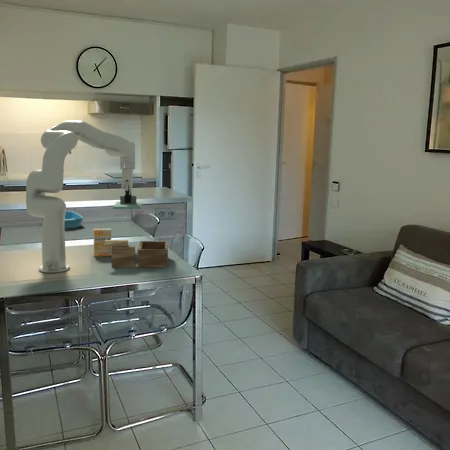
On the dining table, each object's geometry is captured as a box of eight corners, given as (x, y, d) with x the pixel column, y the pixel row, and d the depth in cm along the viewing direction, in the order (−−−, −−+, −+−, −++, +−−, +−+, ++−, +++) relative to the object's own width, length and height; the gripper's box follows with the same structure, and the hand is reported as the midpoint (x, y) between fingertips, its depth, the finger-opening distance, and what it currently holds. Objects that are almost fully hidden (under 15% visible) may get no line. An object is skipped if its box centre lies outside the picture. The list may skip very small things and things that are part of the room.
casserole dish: (87, 229, 304) (86, 217, 303) (49, 231, 293) (49, 220, 292) (72, 220, 335) (72, 209, 334) (38, 222, 324) (38, 211, 323)
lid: (139, 209, 241) (139, 198, 240) (113, 208, 239) (112, 198, 238) (142, 204, 258) (142, 194, 257) (117, 204, 257) (116, 194, 256)
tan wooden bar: (127, 246, 215) (127, 240, 214) (104, 246, 214) (104, 240, 213) (128, 245, 217) (128, 239, 217) (105, 245, 216) (105, 239, 216)
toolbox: (167, 267, 218) (167, 247, 216) (111, 267, 215) (111, 247, 213) (167, 257, 235) (167, 238, 234) (116, 257, 233) (115, 238, 231)
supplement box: (94, 257, 233) (93, 230, 231) (93, 254, 238) (93, 228, 236) (111, 256, 236) (111, 229, 233) (111, 253, 240) (110, 227, 238)
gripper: (121, 165, 255) (122, 200, 258) (118, 167, 239) (118, 204, 242) (136, 165, 256) (136, 200, 259) (133, 167, 240) (134, 204, 243)
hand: (128, 201), depth 250 cm, fingers closed on lid, 3 cm apart
